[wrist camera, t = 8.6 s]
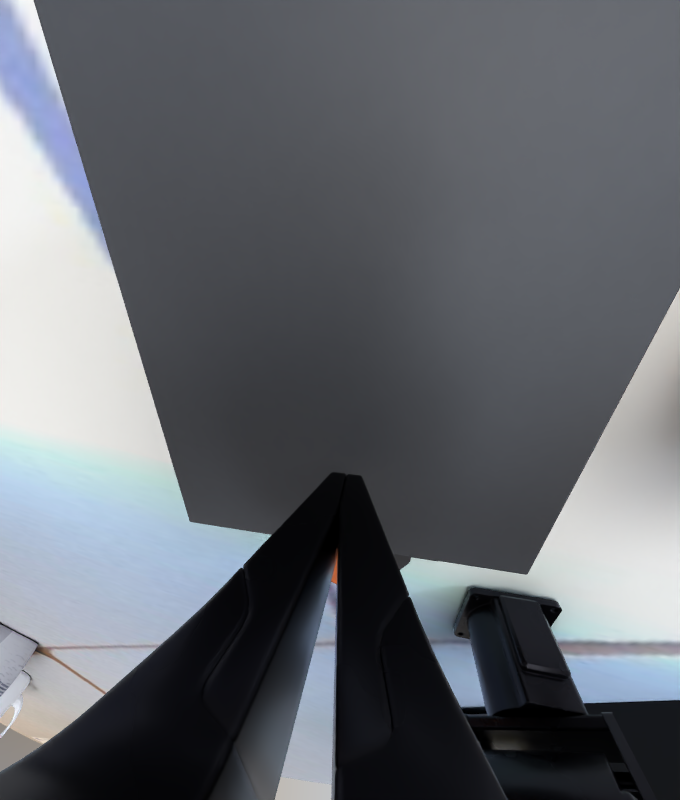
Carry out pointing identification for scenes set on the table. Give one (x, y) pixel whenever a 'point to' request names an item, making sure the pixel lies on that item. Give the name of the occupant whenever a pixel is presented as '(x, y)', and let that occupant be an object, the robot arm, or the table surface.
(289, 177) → the lid
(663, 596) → the table surface
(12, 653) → the juice carton
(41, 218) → the table surface
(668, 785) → the coffee maker
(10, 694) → the mug
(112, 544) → the table surface
